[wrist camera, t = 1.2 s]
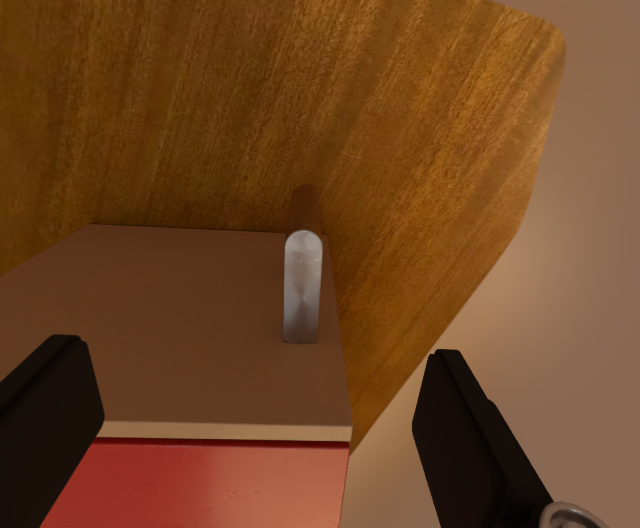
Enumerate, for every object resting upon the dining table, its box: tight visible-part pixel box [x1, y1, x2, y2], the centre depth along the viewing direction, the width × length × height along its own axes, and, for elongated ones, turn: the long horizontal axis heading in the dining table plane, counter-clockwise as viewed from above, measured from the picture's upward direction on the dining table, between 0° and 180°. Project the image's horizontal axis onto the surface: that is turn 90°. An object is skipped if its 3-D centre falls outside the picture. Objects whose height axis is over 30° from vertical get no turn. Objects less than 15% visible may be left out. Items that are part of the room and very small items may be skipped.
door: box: [0, 184, 353, 441], centre depth 25 cm, size 8×24×24 cm, turn 86°
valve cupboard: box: [39, 437, 350, 528], centre depth 30 cm, size 18×24×24 cm
